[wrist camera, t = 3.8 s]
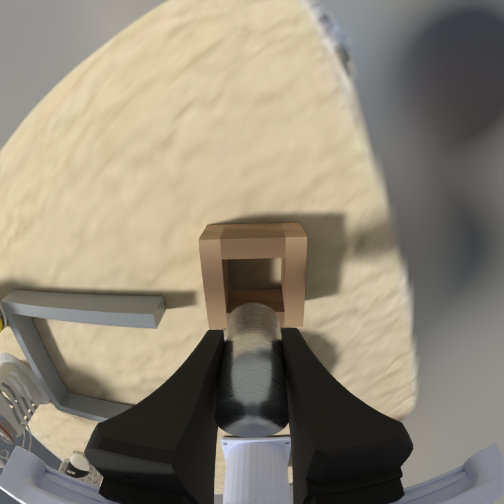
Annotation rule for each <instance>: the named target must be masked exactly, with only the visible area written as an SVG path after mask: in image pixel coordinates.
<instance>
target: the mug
mask: <svg viewBox="0 0 504 504" xmlns="http://www.w3.org/2000/svg"><path fill="white" fill-rule="evenodd" d="M66 467H67V468H66ZM65 469H66V470H65ZM64 471H65V472H64ZM59 472H61V473H64V474H66V475H68V476H71V477H73V478H76V479H78V480H81V481H84V482H86V483H89V484H92V485H95V486H98V487H99V486H100V483H101V480H102V477H103V476H102V475H101V474H100V473H99V472H98V471H97V470H96V469H95V468H94V467H93V466H92V465H91V464H90V463H89V461H88V460H87V459H86V457H85V454H84V453H82V452H79V451H74V452H73V454H72V456H71V459H64V460H63V462H62V464H61V466H60V468H59Z"/></svg>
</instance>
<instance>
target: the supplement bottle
mask: <svg viewBox="0 0 504 504" xmlns="http://www.w3.org/2000/svg"><path fill="white" fill-rule="evenodd" d="M6 324H7V318H6V315H5V312H4V310H3V307H2V305H1V302H0V332H1V331H2V330H3V329H4V328H5V327H6Z"/></svg>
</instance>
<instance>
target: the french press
mask: <svg viewBox="0 0 504 504" xmlns="http://www.w3.org/2000/svg"><path fill="white" fill-rule="evenodd" d="M1 391H3V392H5V393H6V395H7V396H8V397H9V399H10V400H11V401H10V400H9V399H7V398H6V397H5V396H4V395H3V393H2V392H1ZM14 399H15V400H17V403H16V402H15V400H14ZM49 402H50V398H49V396H48V395H47V393H46V392H45V390H44V388H43V387H42V385H41V384H40V382H39V380H38V379H37V377H36V375H35V374H34V372H32V371H31V370H30V369H29V368H28V367H27V366H26V365H25V364H24V363H23V362H21V361H20V360H19V359H17V358H16V357H15V356H13V355H10V354H8V353H1V354H0V415H2V416H3V417H4V418H5V420H3V419H0V438H2V440H4V441H5V442H7V443H8V444H13V443H14V442H13V439H12V437H11V436H10V435H12V436H13V434H14V432H15V431H17V435H16V438H19V437H20V436H21V434H22V432H23V434H24V440H23V444H22V447H21V448H23V447H24V442H25V430H24V429H25V427H26V425H27V427H28V430H29V434H30V446H29V449H28V451H30V449H31V442H32V438H31V432H30V429H29V426H28V422H29V420H30V419H31V417H32V415H33V414H34V412H35V411H36V409H37V407H38V406H39V404H48V403H49ZM32 403H33V404H35V405H34V407H33V406H32ZM9 404H10V405H12V406H14V407H13V409H12V408H10V406H9ZM29 408H30V410H31V412H30V413H29V412H28V410H29ZM25 415H26V416H27V418H26V420H25V419H24V418H23V417H24V416H25ZM20 423H21V426H22V427H21V426H20V425H19V424H20ZM22 423H23V425H22ZM3 451H5V452H7V455H6V458H5V457H2V456H1V454H2V452H3ZM0 456H1V457H2V458H4V459H6V460H7V461H8V459H9V458H8V456H9V452H8V451H7V450H2V451H1V452H0ZM0 467H1V468H5V465H4V463H3V462H2V461H1V459H0Z"/></svg>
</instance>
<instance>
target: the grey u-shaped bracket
mask: <svg viewBox="0 0 504 504" xmlns="http://www.w3.org/2000/svg"><path fill="white" fill-rule="evenodd" d="M0 302H1V305H2V307H3V310H4V312H5V315H6V317H7V319H8V322H9V324H10V326H11V328H12V331H13V333H14V335H15V337H16V339H17V341H18V343H19V345H20V347H21V349H22V351H23V353H24V355H25V357H26V359H27V361H28V363H29V365H30V366H31V368H32V370H33V372H34V373H35V375H36V377H37V379H38V380H39V382H40V384H41V385H42V387H43V388H44V390H45V392H46V393H47V395H48V396H49V398H50V399H51V401H52V402H53V404H54V405H55V407H56V408H57V410H60V411H63V412H66V413H70V414H73V415H76V416H80V417H83V418H87V419H90V420H94V421H98V422H103V421H105V420H107V419H110V418H112V417H114V416H116V415H118V414H120V413H122V412H124V411H126V410H128V409H129V408H131V407H133V406H132V405H126V404H120V403H115V402H110V401H105V400H100V399H95V398H91V397H87V396H83V395H78V394H75V393H71V392H68V391H67V389H66V387H65V385H64V384H63V382H62V380H61V378H60V377H59V375H58V373H57V371H56V369H55V367H54V365H53V364H52V362H51V360H50V358H49V356H48V354H47V352H46V350H45V348H44V345H43V343H42V341H41V339H40V337H39V335H38V332H37V330H36V328H35V325H34V323H33V321H32V318H31V316H32V317H39V318H46V319H53V320H61V321H69V322H78V323H87V324H97V325H109V326H121V327H136V328H153V329H157V327H158V325H159V323H160V321H161V319H162V317H163V315H164V313H165V311H166V308H165V303H164V298H163V296H126V295H97V294H75V293H57V292H41V291H28V290H15V289H14V290H13V291H12V292H11V293H9V294H8V295H7V296H6V297H4V298H3V299H2V300H1V301H0Z"/></svg>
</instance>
